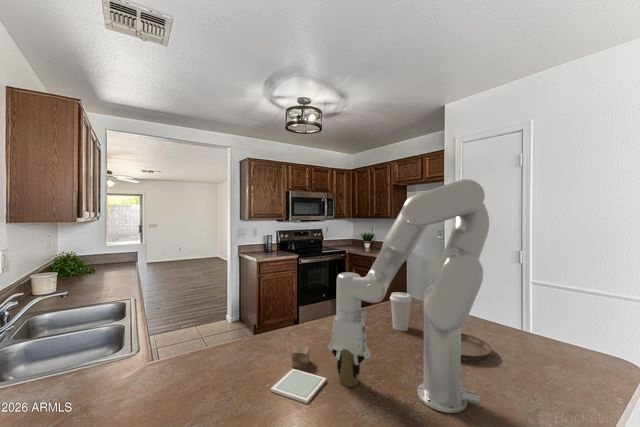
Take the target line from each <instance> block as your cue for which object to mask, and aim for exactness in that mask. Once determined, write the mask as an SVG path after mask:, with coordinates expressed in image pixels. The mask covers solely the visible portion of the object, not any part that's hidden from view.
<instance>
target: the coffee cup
mask: <svg viewBox="0 0 640 427" xmlns="http://www.w3.org/2000/svg"><path fill="white" fill-rule="evenodd" d="M389 300H390V305H391V307H390V308H391V317H392V318H391V319H392V329H393V330H395V331H398V330H399V331H398V332H406V331H408V330H409V322H410V311H411V304H412V297H411V294H409V293H407V292H400V291H398V292H397V291H395V292H391V295H390V297H389Z"/></svg>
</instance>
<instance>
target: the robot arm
mask: <svg viewBox="0 0 640 427" xmlns="http://www.w3.org/2000/svg"><path fill="white" fill-rule="evenodd" d="M485 198H486V195H485V190H484V188H483V187H482V185H481V184H480V183H478V182H477V181H475V180H472V179H465V178H464V179H459V180H456V181H453V182H449V183H447V184H445V185H442V186H438V187H436V188H434V189H433V188H432V189H429V190H427V191H426V190H425V191H423V192H420V193H417V194H414V195H411V196H409V197H408V198H407V199H406V200H405V201H404V204H403V205H402V208H401V210H400V211H399V213H398V215H397V218H395V220H394V222H393V225H392V226H391V228H390V229H389V230H388V233H387V235H386V236H385V237H384V239H383V240H384V241H383V242H382V246H381V249H380V251H379V253H378V255H377V257H376V259H375V261H374V263H373V264H372V266H371V267H370V270H369V271H368V273H366V276H361V275H360V274H359V273H355V272H350V271H349V272H341V273H339V274H337V277H336V292H335V293H336V295H335V296H336V300H335V301H336V306H335V307H336V315H335V316H334V319H333V324H332V330H331V340H330V341H329V343H328V344H327V345H326V347H327V349H329V351H330V352H331V353H332V355H333V356H334V357H335V360H336V362H337V366H336V367H337V368H336V370H338V371H337V372H338V373H337V374H338V375H339V374H340V369H341V358H342V355H341V353H340V351H342V350H343V349H346V350H348V351H350V352H351V354H353V355H354V356H353V357H354V364H353V378H356V374H357V375H358V376H359V374H360V373H361V370H360V369H361V363H362V362H363V361H364V360H367V359H369V358H371V356H372V353H371V351H370V350H369V348H368V347H369V346H367V343H368V342H367V332H366V331H367V330H366V325H365V319H364V318H366V316H367V315H366V314H367V313H366V312H364V311H363V309H362V301H363V302H365V303H371V304H376V303H379V302H382V301H383V299H385V297H386V294H387V292H388V288H389V286H390V285H391V282H392V281H393V279H394V277H395V276H396V274H397V273H398V271H399V269H400V268H401V266H402V265H403V264H404V263H405V262H406V261H407V260H408V259H409V258H410V257H411V255H412V254H413V252H414V251H415V249H416V246H417V245H418V243H419V241H420V240H421V238H422V236H423V235H424V233H425V232H426V230H427V228H428V227H429V226H431V225H434V224H439V223H441V222H445V221H447V220H451V219H453V220H454V221H453V227H452V229H451V231H450V235H449V237H448V240H447V243H446V245H445V248H444V250H443V252H442V254H441V256H440V258H439V261H438V269H439V271H438V274H437V277H436V279H435V282H434V283H432V284H431V285H429V286H428V287H427V288H426V290H425V291H424V293H423V298H422V303H423V304H422V306H423V307H422V309H423V381H422V383H420V384H419V385H418V387H417V397H418V398H419V400H420V401H421V402H422V403H423V404H424V405H426V406H428V407H429V408H430V409H432V410H436V411H439V412H442V413H447V414H455V413H456V414H457V413H460V412H463V411H464V410H465V409H466V408H467V406H468V402H471V403H473V404H477V405H480V404H481V397H480V395H477V394H475V390H473V389H468V388H465V386H463V381H462V380H461V378H462V376H461V375H462V372H461V371H462V370H461V368H462V363H461V361H462V360H461V333H462V327H463V325H465V322H466V321H467V319H468V317H469V315H470V312H471V310H472V308H473V305H474V303H475V300H476V298H477V296H478V294H479V291H480V289H481V286H482V283H483V279H484V268H483V264H481V262H480V260H479V259H480V257H481V254H482V253H483V252H482V251H483V249H484V246H485V243H486V240H487V237H488V233H489V232H490V231H489V230H490V218H489V212H488V209H487V207H486V204H485V203H484V202H485Z"/></svg>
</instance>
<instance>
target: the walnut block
mask: <svg viewBox="0 0 640 427" xmlns="http://www.w3.org/2000/svg"><path fill="white" fill-rule="evenodd" d="M309 362H310V346H305V345H304V346H302V345H294V347H293V349H292V352H291V368H292V369H295V368H296V369H308V366H309Z"/></svg>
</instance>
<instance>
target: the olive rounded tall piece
mask: <svg viewBox="0 0 640 427" xmlns="http://www.w3.org/2000/svg"><path fill="white" fill-rule="evenodd" d="M340 353H341V355H342V358H341V369H340V374H338V383H339V384H340V385H341V386H343V387H348V388H352V387H356V386H357V385H358V383H359V375H357V374H356V378H353V364H354V357H353V356H354V355H353V354H351V352H350V351H348V350H346V349H343V350H342V351H340Z"/></svg>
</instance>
